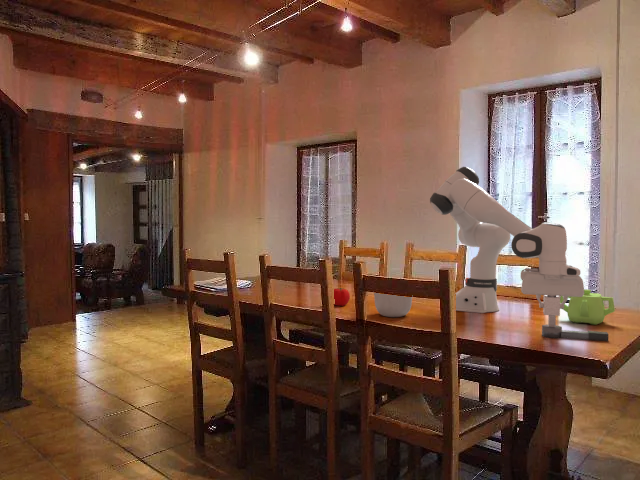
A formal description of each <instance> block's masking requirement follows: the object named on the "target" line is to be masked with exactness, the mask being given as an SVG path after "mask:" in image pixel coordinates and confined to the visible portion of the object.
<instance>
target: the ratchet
mask: <svg viewBox="0 0 640 480" xmlns="http://www.w3.org/2000/svg"><path fill="white" fill-rule="evenodd" d="M556 317H557V316H555V315H548V324H542V325H541V336H542V337H543V338H545V339H546V338H547V339H571V340H572V339H573V340H585V341H587V340H588V341H597V342H599V341H600V342H609V333H608V332H607V331H595V330H594V331H593V330H587V331H581V330H579V331H578V330H567V329H563V328H562V327H563V326H561V325H557V324H556V323H557V322H556V321H557V320H556Z"/></svg>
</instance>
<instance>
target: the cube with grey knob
mask: <svg viewBox="0 0 640 480" xmlns="http://www.w3.org/2000/svg"><path fill="white" fill-rule="evenodd" d="M560 297H561V296H552V295H543V302H544V308H542V309H543V315H544V316H549V315H555V316H556V317H557V316H558V317H560V315H561V309H560Z"/></svg>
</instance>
